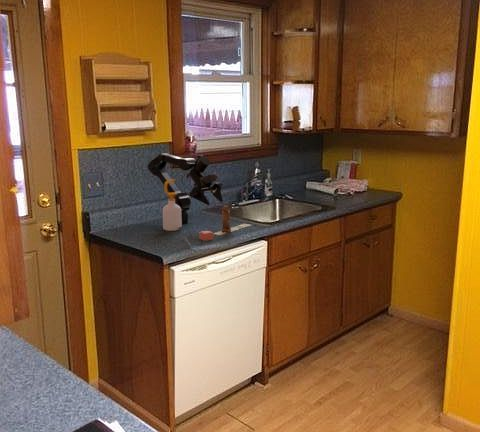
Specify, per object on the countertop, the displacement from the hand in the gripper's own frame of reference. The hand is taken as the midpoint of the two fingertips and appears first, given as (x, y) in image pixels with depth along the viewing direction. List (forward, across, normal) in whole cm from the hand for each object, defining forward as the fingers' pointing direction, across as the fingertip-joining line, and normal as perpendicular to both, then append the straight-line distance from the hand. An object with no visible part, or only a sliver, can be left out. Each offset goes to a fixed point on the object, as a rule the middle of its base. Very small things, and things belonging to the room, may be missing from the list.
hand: (215, 203), depth 251 cm
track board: (+15, +4, +5) cm, 16 cm away
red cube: (+17, -18, +3) cm, 25 cm away
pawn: (+14, -1, +3) cm, 15 cm away
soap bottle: (-4, -12, +23) cm, 26 cm away
